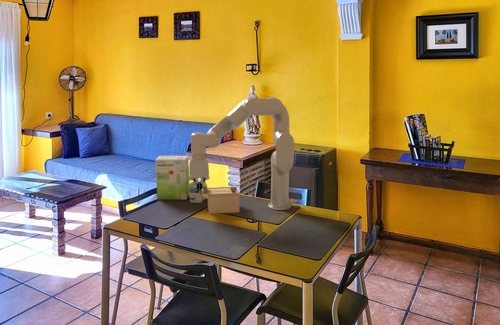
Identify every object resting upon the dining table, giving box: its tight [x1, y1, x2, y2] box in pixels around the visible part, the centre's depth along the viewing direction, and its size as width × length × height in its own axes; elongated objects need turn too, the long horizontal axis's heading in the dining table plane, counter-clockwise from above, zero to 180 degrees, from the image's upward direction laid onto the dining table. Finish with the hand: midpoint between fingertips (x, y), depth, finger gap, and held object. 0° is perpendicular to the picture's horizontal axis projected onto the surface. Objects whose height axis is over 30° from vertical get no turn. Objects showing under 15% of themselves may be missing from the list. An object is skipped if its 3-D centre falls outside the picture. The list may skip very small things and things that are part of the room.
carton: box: [207, 186, 240, 215], centre depth 223 cm, size 16×12×11 cm
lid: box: [202, 183, 232, 197], centre depth 221 cm, size 16×10×4 cm, turn 99°
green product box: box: [154, 155, 190, 200], centre depth 241 cm, size 18×10×24 cm, turn 88°
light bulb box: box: [189, 179, 207, 204], centre depth 238 cm, size 11×7×11 cm, turn 168°
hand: (199, 190), depth 220 cm, fingers closed
